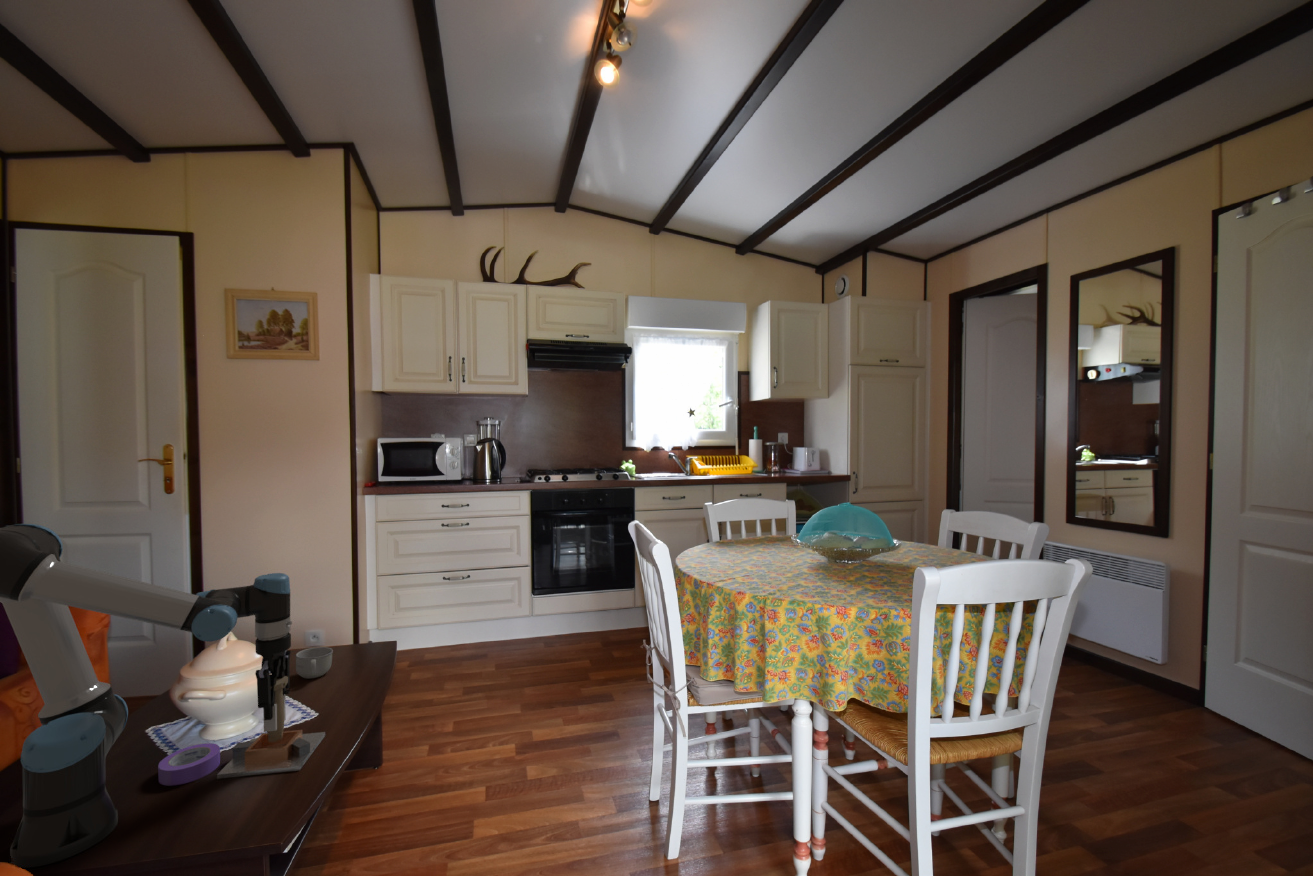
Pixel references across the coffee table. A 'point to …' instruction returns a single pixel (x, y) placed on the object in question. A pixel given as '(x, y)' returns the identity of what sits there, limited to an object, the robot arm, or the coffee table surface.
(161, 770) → the masking tape
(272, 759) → the coupling base
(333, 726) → the coffee table surface
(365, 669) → the coffee table surface
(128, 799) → the coffee table surface
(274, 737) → the handle
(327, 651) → the teacup
